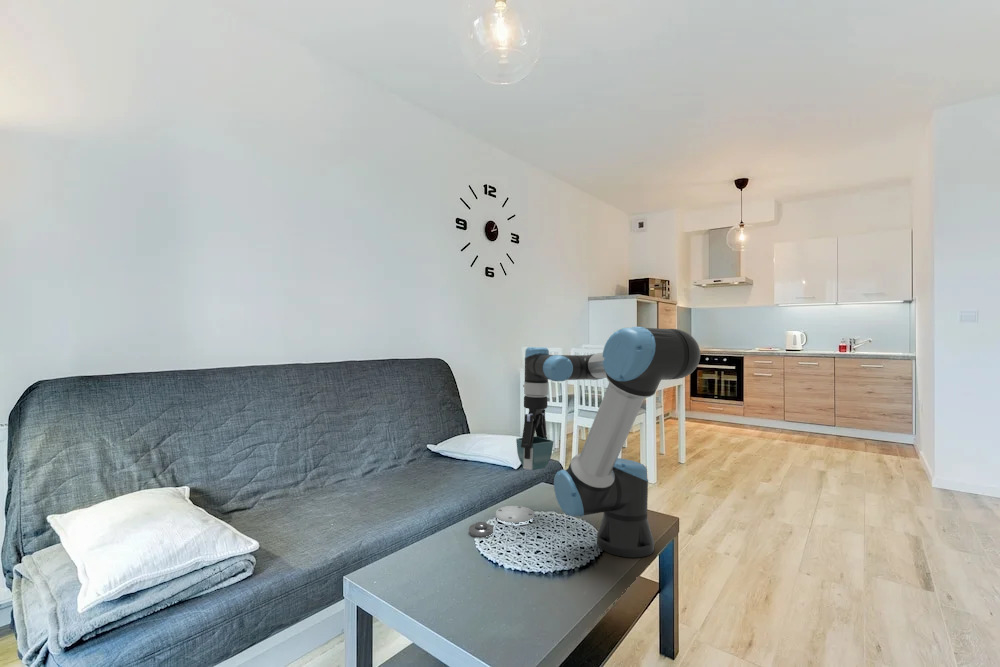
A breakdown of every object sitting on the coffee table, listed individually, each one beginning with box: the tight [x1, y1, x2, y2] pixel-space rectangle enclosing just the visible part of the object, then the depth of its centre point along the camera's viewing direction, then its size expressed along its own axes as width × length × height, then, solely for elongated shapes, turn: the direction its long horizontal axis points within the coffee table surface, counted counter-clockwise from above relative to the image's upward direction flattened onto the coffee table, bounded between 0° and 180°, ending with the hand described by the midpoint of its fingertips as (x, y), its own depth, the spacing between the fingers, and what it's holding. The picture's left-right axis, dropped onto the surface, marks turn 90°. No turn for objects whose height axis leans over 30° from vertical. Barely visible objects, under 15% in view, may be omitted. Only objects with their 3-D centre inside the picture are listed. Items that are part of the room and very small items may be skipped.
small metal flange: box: [468, 521, 494, 538], centre depth 133 cm, size 7×7×2 cm
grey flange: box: [495, 505, 535, 523], centre depth 144 cm, size 12×12×2 cm
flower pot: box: [515, 435, 554, 471], centre depth 146 cm, size 9×9×9 cm
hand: (533, 464), depth 146 cm, fingers closed on flower pot, 11 cm apart
